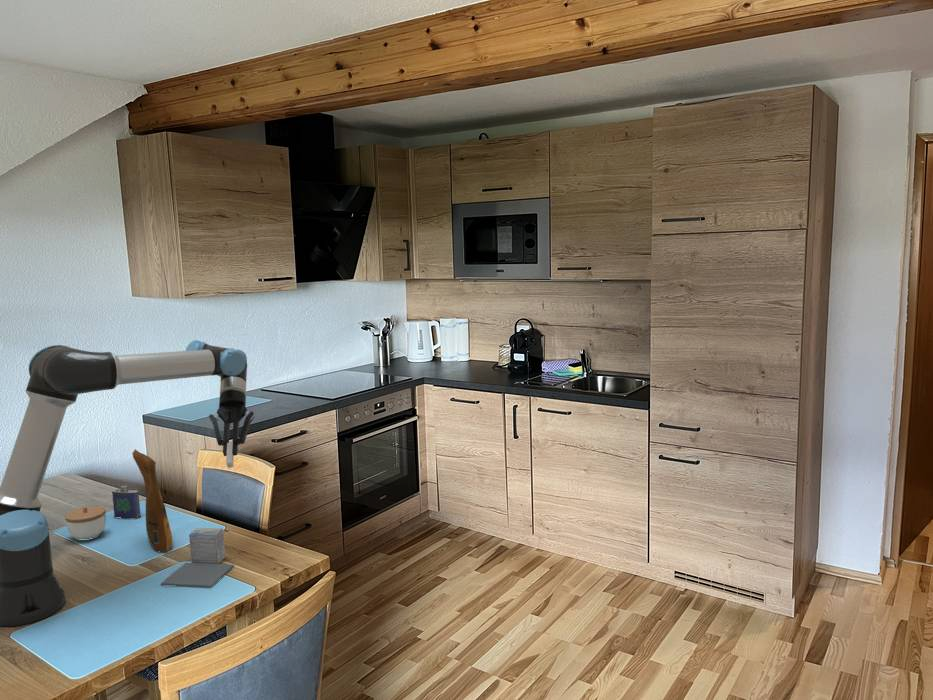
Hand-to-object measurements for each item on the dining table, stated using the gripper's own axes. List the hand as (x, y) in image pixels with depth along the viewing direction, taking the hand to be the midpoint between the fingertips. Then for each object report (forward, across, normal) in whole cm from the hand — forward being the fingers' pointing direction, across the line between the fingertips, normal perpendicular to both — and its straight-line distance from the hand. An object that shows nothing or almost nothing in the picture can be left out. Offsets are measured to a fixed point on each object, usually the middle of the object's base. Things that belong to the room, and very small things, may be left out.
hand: (229, 465), depth 196 cm
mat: (+29, +8, -6) cm, 30 cm away
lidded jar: (+3, +46, -32) cm, 56 cm away
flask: (-7, +39, -42) cm, 58 cm away
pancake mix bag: (+11, +24, -24) cm, 35 cm away
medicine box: (+22, +7, -13) cm, 27 cm away
